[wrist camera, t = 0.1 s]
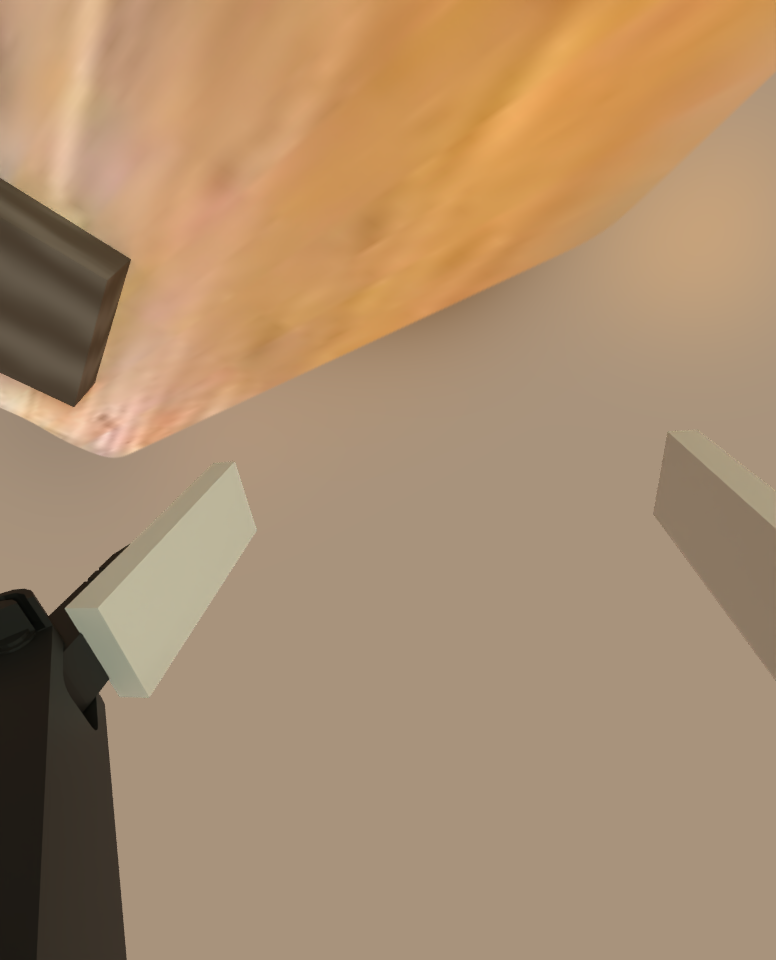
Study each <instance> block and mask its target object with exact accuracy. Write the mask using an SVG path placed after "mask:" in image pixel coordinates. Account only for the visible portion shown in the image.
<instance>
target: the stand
mask: <svg viewBox="0 0 776 960" xmlns="http://www.w3.org/2000/svg"><path fill="white" fill-rule="evenodd" d="M130 261H131V259H129V258H128V257H126V256H124V255H123V254H121V253H120V252H118V251H116V250H115V249H113V248H112V247H110V246H108V245H107V244H105V243H104V242H102V241H100V240H99V239H97V238H95V237H94V236H92V235H91V234H89V233H87V232H86V231H84V230H83V229H81V228H79V227H78V226H76V225H75V224H73V223H71V222H70V221H68V220H67V219H65V218H63V217H62V216H60V215H58V214H57V213H55V212H54V211H52V210H50V209H49V208H47V207H46V206H44V205H42V204H41V203H39V202H38V201H36V200H34V199H33V198H31V197H30V196H28V195H26V194H25V193H23V192H21V191H20V190H18V189H17V188H15V187H13V186H12V185H10V184H9V183H7V182H5V181H4V180H2V179H1V178H0V373H2V374H4V375H7V376H9V377H11V378H13V379H15V380H17V381H19V382H21V383H24V384H26V385H28V386H30V387H32V388H34V389H36V390H39V391H41V392H43V393H45V394H47V395H49V396H51V397H53V398H56V399H58V400H60V401H62V402H64V403H66V404H68V405H70V406H73V407H75V405H76V404H77V403H78V402H79V401H80V400H81V398H82V397H83V396H84V395H85V394H86V393H87V391H88V390H89V389H90V388H91V387H92V386H93V385H94V383H95V380H96V376H97V373H98V370H99V366H100V363H101V359H102V356H103V353H104V349H105V346H106V342H107V339H108V336H109V332H110V329H111V325H112V322H113V318H114V315H115V312H116V308H117V305H118V301H119V298H120V295H121V291H122V288H123V284H124V281H125V278H126V274H127V271H128V267H129V264H130Z"/></svg>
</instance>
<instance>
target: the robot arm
mask: <svg viewBox="0 0 776 960" xmlns="http://www.w3.org/2000/svg"><path fill="white" fill-rule="evenodd" d="M653 514H654V516H655V517H656V518H657V520H658V521H659V522H660V524H661V525H662V527H663V528H664V529H665V531H666V532H667V533H668V535H669V536H670V537H671V539H672V540H673V542H674V543H675V544H676V546H677V547H678V548H679V550H680V551H681V552H682V554H683V555H684V557H685V558H686V559H687V561H688V562H689V563H690V565H691V566H692V567H693V569H694V570H695V572H696V573H697V574H698V576H699V577H700V578H701V580H702V581H703V582H704V584H705V585H706V586H707V588H708V589H709V591H710V592H711V593H712V594H713V596H714V597H715V598H716V600H717V601H718V603H719V604H720V605H721V607H722V608H723V609H724V611H725V612H726V613H727V615H728V616H729V618H730V619H731V621H732V622H733V623H734V625H735V626H736V627H737V629H738V630H739V631H740V633H741V634H742V635H743V637H744V638H745V639H746V641H747V642H748V644H749V645H750V646H751V648H752V649H753V650H754V652H755V653H756V654H757V656H758V657H759V659H760V660H761V661H762V663H763V664H764V665H765V667H766V668H767V669H768V670H769V672H770V673H771V675H772V676H773V678H774V679H775V680H776V491H775V490H774V489H773V488H771V487H770V486H769V485H768V484H766V483H765V482H764V481H762V480H761V479H760V478H759V477H757V476H756V475H755V474H753V473H752V472H751V471H749V470H748V469H747V468H746V467H744V466H743V465H742V464H741V463H739V462H738V461H737V460H736V459H734V458H733V457H732V456H730V455H729V454H728V453H727V452H725V451H724V450H723V449H722V448H720V447H719V446H718V445H716V444H715V443H714V442H713V441H711V440H710V439H709V438H707V437H706V436H705V435H704V434H702V433H701V432H700V431H699V430H686V431H672V432H668V433H667V438H666V444H665V449H664V455H663V461H662V467H661V473H660V478H659V484H658V490H657V495H656V501H655V506H654V512H653ZM256 531H257V529H256V526H255V523H254V520H253V517H252V514H251V511H250V507H249V504H248V501H247V498H246V495H245V492H244V489H243V486H242V483H241V479H240V476H239V473H238V470H237V467H236V464H235V462H221V463H213V464H212V465H211V466H210V467H209V468H208V469H207V470H206V471H205V472H204V473H203V474H202V475H201V476H200V477H198V478H197V479H196V480H195V481H194V482H193V483H192V484H191V485H190V486H189V487H188V488H187V489H186V490H185V491H184V492H183V493H182V494H181V495H180V496H179V497H178V498H177V499H176V500H175V501H174V502H173V503H172V504H171V505H170V506H169V507H168V508H167V509H166V510H165V511H164V512H163V513H162V514H161V515H160V516H159V517H158V518H157V519H156V520H154V522H153V523H151V524H150V525H149V526H148V527H147V529H145V530H144V531H143V532H142V533H141V534H140V535H139V536H138V537H137V538H136V539H135V540H134V541H133V542H132V543H131V544H129V545H128V546H126V547H124V548H123V549H121V550H120V551H118V552H116V553H115V554H113V555H112V556H111V557H110V558H109V559H108V560H107V561H106V562H105V563H104V564H103V565H102V566H101V567H100V568H99V571H95V572H94V573H93V574H92V575H91V576H90V577H89V578H88V581H87V582H84V583H83V584H82V585H81V586H80V587H79V588H78V589H77V590H76V591H75V592H73V593H72V594H71V595H70V596H69V597H68V598H67V599H66V600H65V601H64V602H63V603H62V604H61V605H60V606H59V607H58V608H57V609H56V610H55V611H54V612H53V613H52V614H50V615H49V616H48V615H47V613H46V612H45V610H44V609H43V607H42V606H41V604H40V603H39V601H38V600H37V598H36V597H35V595H34V594H33V592H32V591H31V590H27V589H17V590H11V591H8V592H4V593H1V594H0V960H126V947H125V936H124V924H123V913H122V901H121V890H120V878H119V866H118V854H117V842H116V831H115V820H114V809H113V797H112V784H111V773H110V761H109V750H108V738H107V726H106V715H105V704H104V702H103V700H102V698H101V696H100V695H99V692H100V690H101V689H102V687H103V686H104V685H105V684H106V682H107V681H108V680H109V681H110V682H111V684H112V685H113V687H114V688H115V690H116V692H117V693H118V695H119V697H147V698H148V697H150V695H151V694H152V693H153V691H154V689H155V688H156V686H157V685H158V683H159V682H160V680H161V679H162V677H163V675H164V674H165V672H166V671H167V669H168V668H169V666H170V664H171V663H172V661H173V660H174V658H175V657H176V655H177V654H178V652H179V651H180V649H181V648H182V646H183V644H184V643H185V641H186V640H187V638H188V636H189V635H190V634H191V632H192V630H193V629H194V627H195V626H196V624H197V623H198V621H199V620H200V618H201V616H202V615H203V613H204V612H205V610H206V609H207V607H208V606H209V604H210V602H211V601H212V599H213V598H214V596H215V595H216V593H217V591H218V590H219V588H220V587H221V585H222V584H223V582H224V581H225V579H226V578H227V576H228V574H229V573H230V571H231V570H232V568H233V567H234V565H235V564H236V562H237V560H238V559H239V557H240V556H241V554H242V553H243V551H244V550H245V548H246V546H247V545H248V543H249V542H250V540H251V539H252V537H253V536H254V534H255V533H256Z"/></svg>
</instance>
